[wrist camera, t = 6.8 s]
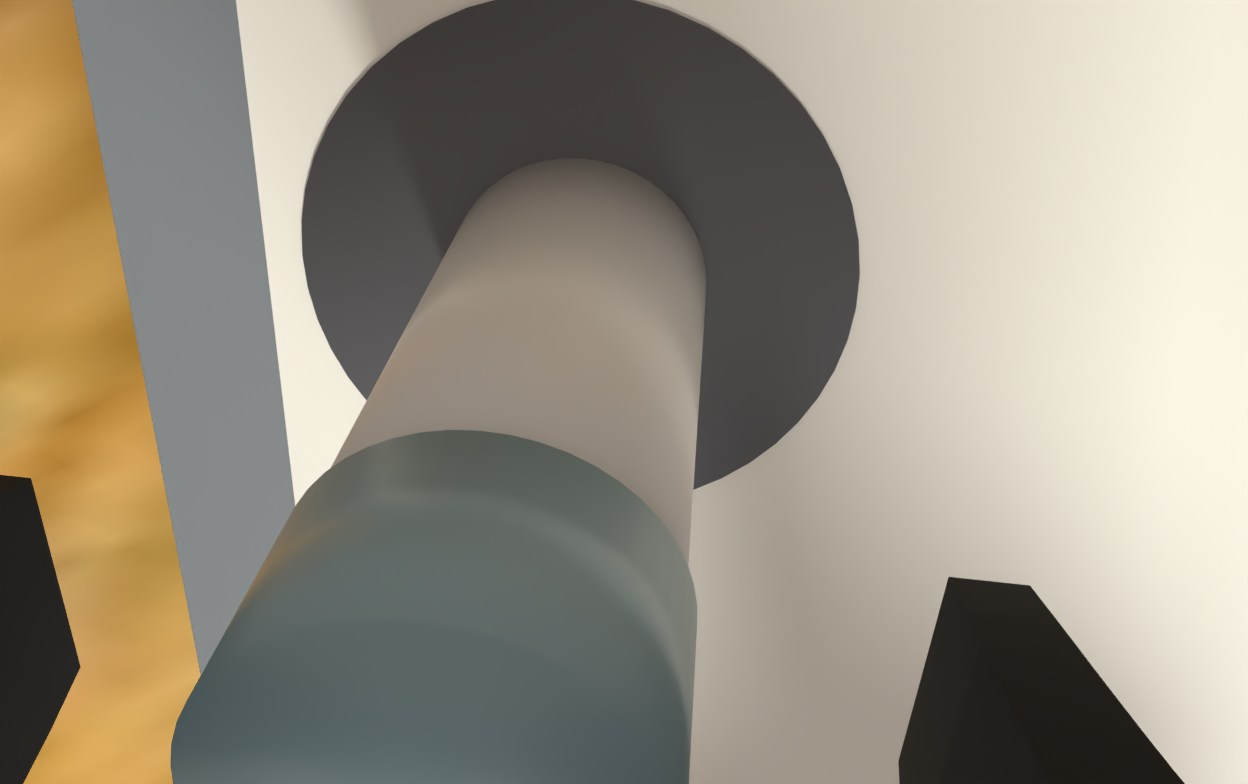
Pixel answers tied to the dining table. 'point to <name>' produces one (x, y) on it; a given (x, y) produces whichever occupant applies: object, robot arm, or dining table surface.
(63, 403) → the dining table surface
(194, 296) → the white mounting plate
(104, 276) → the dining table surface
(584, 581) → the small white bottle
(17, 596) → the robot arm
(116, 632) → the dining table surface
